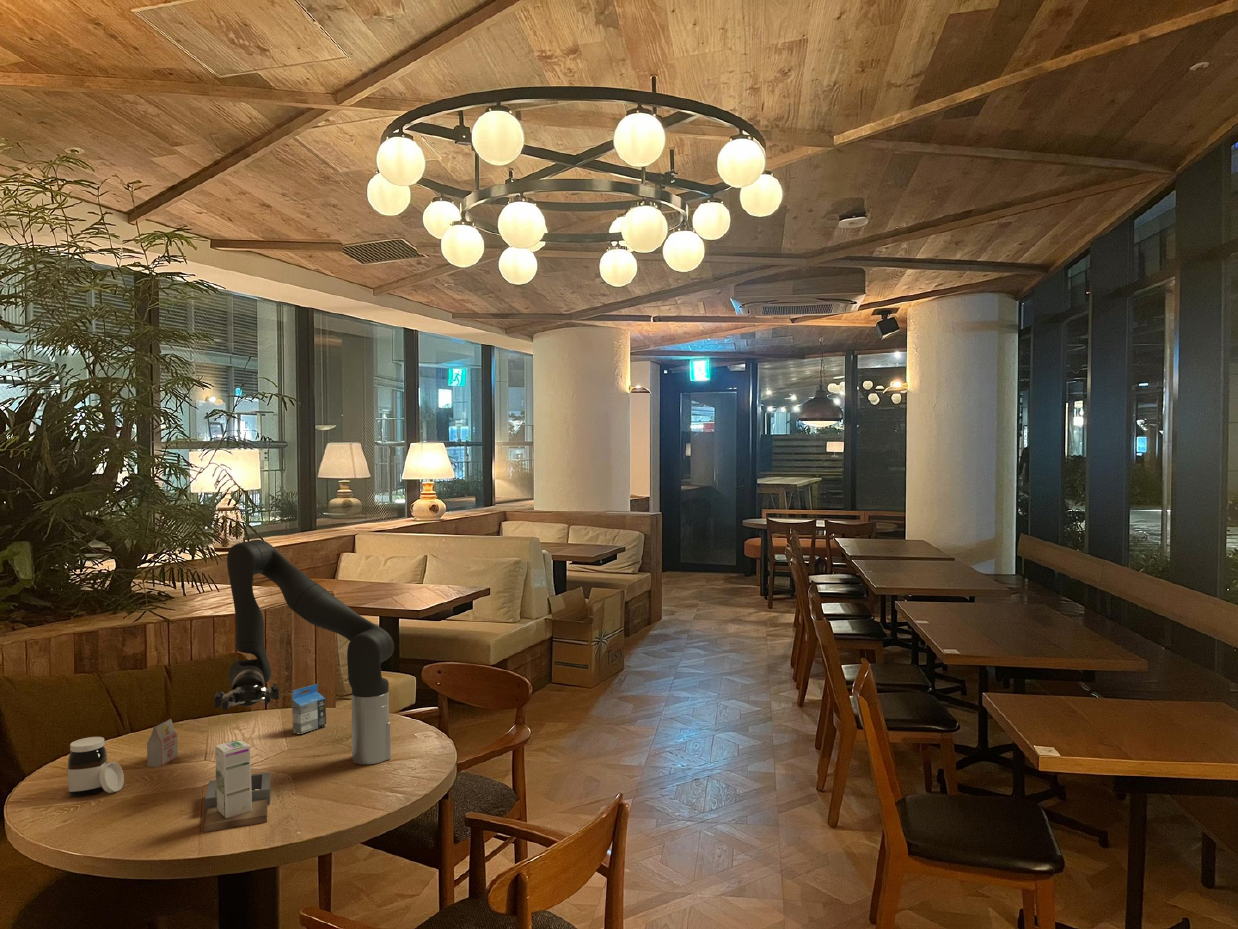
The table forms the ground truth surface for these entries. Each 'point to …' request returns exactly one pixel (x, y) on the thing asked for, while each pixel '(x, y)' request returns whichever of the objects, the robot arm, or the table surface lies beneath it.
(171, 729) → the white gable top carton
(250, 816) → the walnut pad
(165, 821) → the table surface
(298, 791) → the table surface
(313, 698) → the label tape box
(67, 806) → the table surface
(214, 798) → the gray open storage bin
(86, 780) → the spread jar
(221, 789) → the syrup box
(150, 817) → the table surface
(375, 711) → the robot arm
